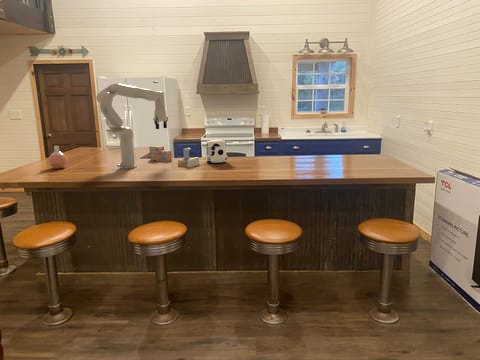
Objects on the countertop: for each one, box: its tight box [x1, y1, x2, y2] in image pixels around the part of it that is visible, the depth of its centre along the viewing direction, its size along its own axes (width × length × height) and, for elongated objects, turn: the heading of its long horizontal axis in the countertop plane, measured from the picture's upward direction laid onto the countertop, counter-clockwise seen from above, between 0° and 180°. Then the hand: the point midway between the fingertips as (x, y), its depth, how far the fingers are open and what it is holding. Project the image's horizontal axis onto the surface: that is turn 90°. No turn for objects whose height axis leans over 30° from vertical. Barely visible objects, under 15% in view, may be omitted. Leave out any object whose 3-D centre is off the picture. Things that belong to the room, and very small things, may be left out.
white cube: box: [205, 139, 228, 164], centre depth 288 cm, size 17×17×18 cm
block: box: [177, 157, 192, 168], centre depth 278 cm, size 10×10×5 cm
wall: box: [187, 156, 200, 168], centre depth 275 cm, size 13×2×6 cm, turn 153°
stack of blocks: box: [148, 145, 173, 163], centre depth 303 cm, size 21×6×12 cm, turn 53°
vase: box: [47, 145, 69, 170], centre depth 274 cm, size 14×14×18 cm
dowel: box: [183, 147, 190, 160], centre depth 276 cm, size 4×4×12 cm
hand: (161, 128), depth 288 cm, fingers open, 9 cm apart
